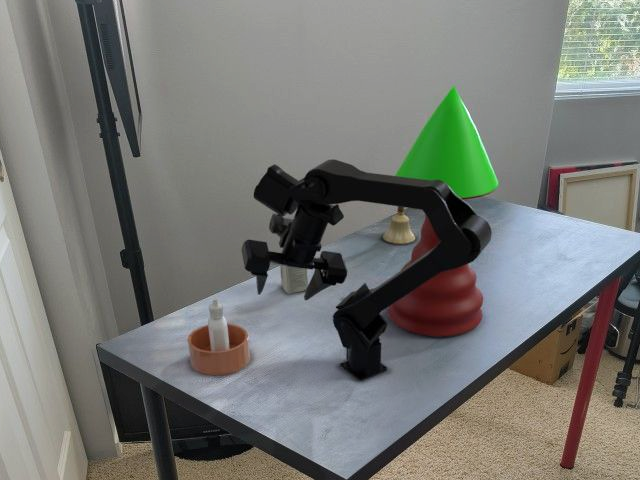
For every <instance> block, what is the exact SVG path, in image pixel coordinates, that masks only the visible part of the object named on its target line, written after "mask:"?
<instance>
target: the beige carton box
mask: <svg viewBox="0 0 640 480" xmlns="http://www.w3.org/2000/svg"><path fill="white" fill-rule="evenodd" d="M282 250H283V248H280V246H279V245H278V253H281V252H282ZM279 268H280V269H279V270H280V281H281V282H280V283H281V288H282V289H283V291H285V293H286V294H287V295H290V294H296V293H300V292H304V291H306V289H307V287H308V285H309V279H308V277H309V276H308V269H305V268H294V267H287V266H279Z"/></svg>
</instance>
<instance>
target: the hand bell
mask: <svg viewBox="0 0 640 480" xmlns="http://www.w3.org/2000/svg"><path fill="white" fill-rule="evenodd" d="M382 239H383V240H384V241H385V242H386V243H390V244H394V245H408V244H411V243H413V242H414V241H415V240H416V236H415V234H414V233H413V232H412V230H411V227H410V218H409V217H408V216H407V215H405V207H399V206H397V213H396V214H394V215H393V216H392V217H391V220H390V224H389V228H388V229H387V231H385V233H383V235H382Z"/></svg>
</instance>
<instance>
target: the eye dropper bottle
mask: <svg viewBox="0 0 640 480" xmlns="http://www.w3.org/2000/svg"><path fill="white" fill-rule="evenodd" d="M223 309H224V308H223V304H221V303H219V302H218V298H213V299H212V303H211V304H210V305H208V312H209V317H208V320H207V325H208V328H209V336H210V345H211V351H224V350H229V349H230V347H229V337H228V328H227V323H228V321H227V318H226V317H225V316H224V310H223Z"/></svg>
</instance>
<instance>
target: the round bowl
mask: <svg viewBox="0 0 640 480" xmlns="http://www.w3.org/2000/svg"><path fill="white" fill-rule="evenodd" d="M227 328H228V337H229V347H230V349H229V350H224V351H211V345H210V336H209V328H208V324H206V325H205V324H204V325H203V326H200V327H198V328H195V329H194V330H193V331H192V332H190V334H189V335H188V337H187V347H188V354H189V360H190V365H191V367H192V368H193V369H194V370H195V371H197V372H199V373H201V374H205V375H208V376H209V375H210V376H226V375H231V374H234V373H236V372H239V371H241V370H242V369H244V368H245V367H246V366H247V365H248V364H249V362H250V359H251V351H250V349H251V348H250V339H249V337H250V336H249V333H248V331H247V330H246V329H245V328H243V327H242V326H240V325H237V324H233V323H228V322H227Z"/></svg>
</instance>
